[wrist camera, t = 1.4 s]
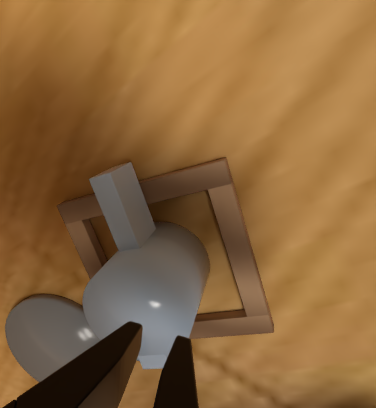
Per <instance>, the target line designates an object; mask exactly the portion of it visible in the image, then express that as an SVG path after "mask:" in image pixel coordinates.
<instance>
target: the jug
mask: <svg viewBox="0 0 376 408" xmlns="http://www.w3.org/2000/svg"><path fill="white" fill-rule="evenodd" d="M89 181H90V183H91V186H92V188H93V190H94V193H95V195H96V198H97V200H98V202H99V205H100V207H101V210H102V212H103V214H104V217H105V219H106V222H107V224H108V226H109V229H110V231H111V234H112V236H113V238H114V241H115V243H116V246H117V248H118V251H117V252H116V253H115V254H114V255H113V256H112V257H111V258H110V259H109V260H108V262H107V263H106V264H105V265H104V266H103V267H102V268H101V269H100V270H99V271H98V272H97V273H96V274H95V275H94V276H93V278H92V279H91V280H90V281H89V282H88V284H87V286H86V288H85V291H84V294H83V310H84V314H85V317H86V320H87V322H88V324H89V326H90V328H91V329H92V331H93V332H94V333H95V335H96V336H97V337H98V338H99V339H100V340H102V339H103V338H105V337H106V336H108V335H109V334H111V333H112V332H114V331H115V330H117V329H118V328H119V327H121V326H122V325H124V324H125V323H127V322H129V321H132V322H136V323H139V324H141V325H142V327H143V331H142V341H141V348H140V352H139V355H138V357H137V360H138V361H140V363H141V365H142V367H143V369H159V368H163V367H164V364H165V362H166V359H167V357H168V355H169V352H170V350H171V348H172V345H173V343H174V341H175V338H176V336H178V335H180V336H183V337H187V338H189V336H190V333H191V330H192V327H193V324H194V320H195V317H196V314H197V311H198V308H199V305H200V301H201V298H202V295H203V292H204V289H205V286H206V283H207V279H208V276H209V272H210V261H209V257H208V253H207V251H206V249H205V247H204V245H203V244H202V242H201V241H200V240H199V239H198V238H197V237H196V236H195V235H194V234H193V233H192V232H190V231H189V230H187V229H186V228H184V227H182V226H180V225H177V224H174V223H170V222H153V219H152V217H151V214H150V211H149V209H148V206H147V203H146V201H145V198H144V195H143V192H142V190H141V187H140V184H139V182H138V179H137V176H136V174H135V171H134V168H133V166H132V163H131V162H128V163H125V164H122V165H118V166H115V167H112V168H110V169H108V170H106V171H104V172H102V173H100V174H98V175H96V176H94V177H92V178H90V179H89Z"/></svg>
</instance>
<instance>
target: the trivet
mask: <svg viewBox="0 0 376 408" xmlns="http://www.w3.org/2000/svg"><path fill="white" fill-rule="evenodd" d="M5 332H6V338H7V342H8V345H9V348H10V350H11V352H12V354H13V355H14V357H15V358H16V360H17V361H18V363H19V364H20V365H21V366H22V367H23V369H24V370H25V371H26V372H27V373H28V374H30V375H31V376H32V377H33V378H34V379H36V380H37V381H38V382H41V381H42V380H44V379H45V378H47V377H48V376H49V375H51V374H52V373H54V372H55V371H57V370H58V369H60V368H61V367H63V366H64V365H65V364H67V363H68V362H70V361H71V360H73V359H74V358H76V357H77V356H79V355H80V354H82V353H83V352H84V351H86V350H87V349H89V348H90V347H92V346H93V345H95V344H96V343H98V342H99V341H100V339H99V338H98V337H97V336H96V335H95V333H94V332H93V331H92V329H91V328H90V326H89V324H88V322H87V320H86V317H85V314H84V310H83V306H81V305H79V304H78V303H76V302H74V301H72V300H69V299H67V298H64V297H60V296H56V295H51V294H39V295H34V296H30V297H28V298H26V299H24V300H23V301H21V302H20V303H19V304H18V305H17V306H16V307H15V308H14V309H13V310H12V311H11V312H10V313H9V315H8V317H7V320H6V325H5Z"/></svg>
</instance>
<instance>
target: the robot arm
mask: <svg viewBox="0 0 376 408" xmlns="http://www.w3.org/2000/svg"><path fill="white" fill-rule="evenodd" d="M142 331H143V327H142V325H141V324H139V323H136V322H132V321H129V322H127V323H125V324H124V325H122V326H121V327H119V328H118V329H117V330H115V331H114V332H112V333H111V334H109V335H108V336H106V337H105V338H103V339H102V340H100V341H99V342H98V343H96V344H95V345H93V346H92V347H90V348H89V349H87V350H86V351H84V352H83V353H82V354H80V355H79V356H77V357H76V358H74V359H73V360H71V361H70V362H68V363H67V364H65V365H64V366H63V367H61V368H60V369H58V370H57V371H55V372H54V373H52V374H51V375H49V376H48V377H47V378H45V379H44V380H42V381H41V382H39V383H38V384H36V385H35V386H33V387H32V388H30V389H29V390H28V391H26V392H25V393H23V394H22V395H20V396H19V397H18V398H17V400H13V401H11V402H10V403H8V404H7V405H5V406H4V407H3V408H118V406H119V403H120V401H121V398H122V396H123V393H124V391H125V388H126V386H127V383H128V380H129V378H130V375H131V373H132V370H133V368H134V365H135V362H136V360H137V357H138V355H139V352H140V348H141V341H142ZM153 408H199V406H198V397H197V389H196V380H195V371H194V363H193V354H192V345H191V340H190V339H189V338H187V337H183V336H180V335H178V336H176V338H175V341H174V343H173V345H172V348H171V350H170V352H169V355H168V357H167V359H166V362H165V364H164V367H163V369H162V372H161V376H160V380H159V385H158V389H157V393H156V398H155V402H154V407H153Z"/></svg>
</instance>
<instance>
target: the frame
mask: <svg viewBox="0 0 376 408" xmlns="http://www.w3.org/2000/svg"><path fill="white" fill-rule="evenodd" d="M138 182H139V184H140V187H141V190H142V192H143V195H144V198H145V201H146V203H147V204H151V203H155V202H159V201H163V200H167V199H171V198H175V197H179V196H184V195H188V194H192V193H196V192H200V191H204V190H208V192H209V195H210V199H211V202H212V205H213V208H214V212H215V215H216V218H217V221H218V224H219V228H220V231H221V234H222V237H223V241H224V244H225V247H226V250H227V253H228V257H229V260H230V263H231V266H232V270H233V273H234V276H235V279H236V283H237V286H238V289H239V292H240V295H241V299H242V302H243V305H244V308H245V310H238V311H229V312H219V313H209V314H200V315H196V317H195V320H194V324H193V327H192V330H191V333H190V336H189V339H197V338H210V337H223V336H236V335H249V334H262V333H274V324H273V320H272V317H271V313H270V310H269V306H268V303H267V299H266V296H265V292H264V289H263V285H262V282H261V278H260V275H259V271H258V268H257V264H256V261H255V257H254V254H253V250H252V247H251V243H250V240H249V236H248V233H247V229H246V225H245V222H244V218H243V215H242V211H241V208H240V204H239V201H238V197H237V194H236V190H235V187H234V183H233V180H232V176H231V173H230V169H229V166H228V162H227V159H226V158H222V159H218V160H215V161H211V162H207V163H204V164H200V165H196V166H193V167H189V168H185V169H182V170H178V171H175V172H171V173H167V174H164V175H160V176H156V177H153V178H149V179H145V180H142V181H138ZM57 208H58V210H59V212H60V214H61V216H62V218H63V221H64V223H65V225H66V227H67V229H68V232H69V234H70V236H71V238H72V240H73V243H74V245H75V247H76V249H77V251H78V253H79V256H80V258H81V260H82V262H83V264H84V267H85V269H86V271H87V273H88V275H89V278H90V280H91V279H92V278H93V276H94V275H95V274H96V273H97V272H98V271H99V270H100V269H101V268H102V267H103V266H104V265H105V264H106V263H107V260H106V257H105V255H104V253H103V250H102V248H101V246H100V243H99V241H98V239H97V236H96V234H95V232H94V230H93V227H92V225H91V223H90V220H89V218H93V217H97V216H101V215H104V214H103V212H102V210H101V207H100V205H99V202H98V200H97V198H96V195H95V193H94V194H91V195H87V196H83V197H80V198H76V199H72V200H69V201H65V202H62V203H61V204H59V205H57Z"/></svg>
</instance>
